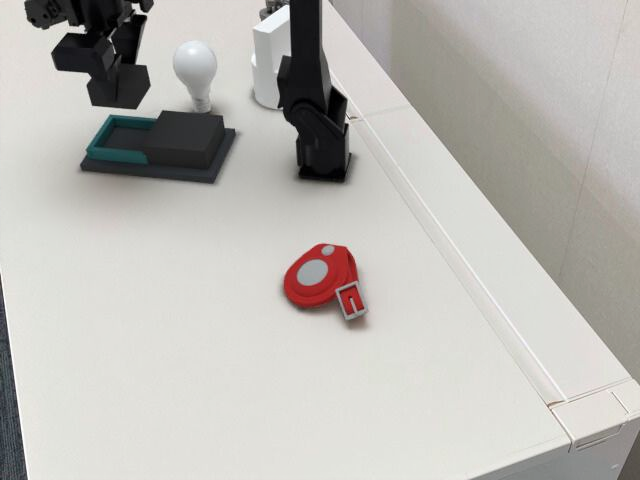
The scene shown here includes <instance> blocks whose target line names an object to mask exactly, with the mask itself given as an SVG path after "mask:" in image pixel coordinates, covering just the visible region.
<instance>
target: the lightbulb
mask: <svg viewBox="0 0 640 480" xmlns="http://www.w3.org/2000/svg"><path fill="white" fill-rule="evenodd" d="M171 61H172V63H171V64H172V69H173V72H174V74H175V76H176V78H177V79H178V80H179V81H180V82H181V83H182V84H183V85H184V86H185V87H186V90H187V92H188V94H189V95H190V98H191V101H192V102H191V103H192V108H193V112H194V113H202V114H208V112H210V111H211V110H212V103H211V99H210V98H211V97H210V93H211V89H212V88H211V85H212V83H213V80H214V79H215V77H216V74H217V71H218V60H217V57H216V54H215V52H214V51H213V49H212V48H211V47H210V46H209V45H208V44H206V43H205V42H203V41H201V40H197V39H190V40H186V41H183V42H182V43H181V44H179V45H178V46H177V48H176V49H175V50H174V53H173V55H172V60H171Z"/></svg>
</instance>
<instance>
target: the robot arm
mask: <svg viewBox="0 0 640 480" xmlns="http://www.w3.org/2000/svg"><path fill="white" fill-rule="evenodd" d="M23 5H24V12H25V16H26V20H27V22H28V23H29V24H31V25H32V26H33V27H34V28H36V29H41V30H42V31H46V30H49V29H50V28H51V27H53V26H56V25H58V24H61V23H62V24H63V23H64V22H67V24H68V27H72V28H73V27H75V28H77V27H78V28H79V27H80V26H83V27H84V30H83V33H81V32H69V31H68V32H66V33H65V35H64V36H63V37H62V38H61V39H60V40H59V42H58V43H56V45H55V46H54V48H53V49H52V50H51V52H50V56H51V59H52V61H53V62H52V63H53V66H54V69H55V70H57V71H58V72H67V73H81V74H87V75H88V76H89V77H90V79H91V78H92V79H93V81H94V82H95V84H96V85H97V87H98V88H99V90H100V91H101V92H102V94H103V95H104V97H105V98H106V100H107V101H108V102H114V103H115V102H116V101H117V94H118V85H119V74H120V63H124V64H137V60H138V56H139V53H140V52H139V51H140V48H141V44H142V40H143V35H144V31H145V28H146V24H147V22H148V15H146V14H148V13H149V12H150V11H151V9H153V6H154V5H155V2H154V0H25V1H24V2H23ZM133 5H138V6H139V10H140V11H141V12H142V14H141V13H137V10H136V8H133ZM289 11H290V40H291V57H290V56H286V55H282V59H281V63H280V67H279V71H278V75H277V86H278V90H279V95H280V97H279V102H278V106H277V108H278V109H277V110H279V109H280V108H282V107H283V110H282V115H283V118H284V119H285V121H286V122H287V123H289V124H290V125H291V126H292V127H294V128H295V130H296V132H297V137H296V139H295V150H296V151H295V152H296V164H297V165H296V166H297V167H299V170H298V178H299V179H305V180H313V181H314V180H317V181H325V182H326V181H327V182H336V183H344V182H346V178H347V175H348V172H349V168H350V165H351V161H352V158H353V157H352V156H353V154H352V153H351V151H350V123H347V122H346V116H347V108H348V104H349V103H348V102H349V100H348V98H347V97H346V96H345V95H344V94H343V93H342V92H341V91H340V90H338V88H336V86H334V85H333V83H332V79H331V73H330V68H329V67H330V66H329V62H328V59H327V57H326V54H325V51H324V48H323V47H324V46H323V0H289Z"/></svg>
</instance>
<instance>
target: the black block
mask: <svg viewBox="0 0 640 480" xmlns="http://www.w3.org/2000/svg"><path fill="white" fill-rule="evenodd" d="M150 80H151V79H150V75H149V70H148V66H147V64H137V63H136V64H124V63H120V74H119V85H118V94H117V101H116V102H115V103H114V102H108V101H107V100H106V98H105V97H104V95H103V94H102V92H101V91H100V90H99V88H98V87H97V85H96V84H95V82H94V81H93V79H92V78H91V77H90V79H89V81H87V83H86V90H87V94H88V97H89V100H90V105H91V107H98V108H109V109H110V108H111V109H121V110H133V111H136V110H137V109H138V107H139V106H140V104H141V103H142V101H143V100H144V98H145V96H146V95H147V93H148V92H149V90H150V88H151V87H152V84H151V81H150Z"/></svg>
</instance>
